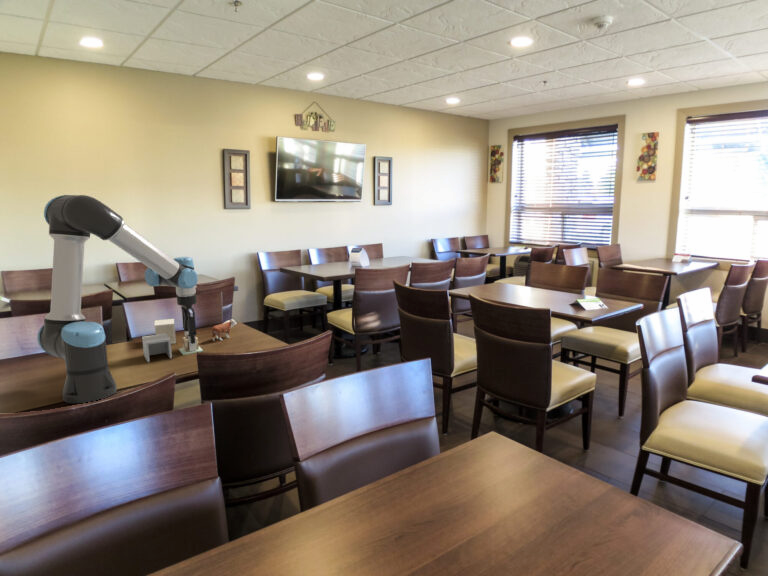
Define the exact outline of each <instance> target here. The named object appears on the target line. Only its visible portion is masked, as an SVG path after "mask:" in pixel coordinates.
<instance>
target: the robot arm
mask: <svg viewBox="0 0 768 576" xmlns="http://www.w3.org/2000/svg"><path fill="white" fill-rule="evenodd" d="M43 217H44V220H45V222H46V223H47V225H48V235H49V236H50V237H51V238H52V239H53V255H52V258H53V259H52V272H51V273H52V277H51V293H50V296H51V297H50V309H49V310H50V311H49V313H47V314H46V315H45V316H44V319H43V325H42V326H41V327H40V328H39V330H38V333H37V338H36V339H37V343H38V345H39V347H40V349H41V350H42V351H44V352H45V353H47V354H48V355H49V356H52V357H56V358H58V359H59V358H60V359H61V360H64V362H65V363H64V364H65V370H66V371H65V372H66V378H65V382H64V384H63V390H62V400H63V401H64V402H65V403H68V404H87V403H86V402H88V403H92V402H91V401H94V402H97V401H96V400H98V401H100V400H99V399H101V400H103V399H106V398H109V397H111V396H113V395H115V393H117V391H118V390H117V383H116V380H115V378H114V377H113V375H112V374H111V371H110V369H109V363H108V361H109V360H108V354H107V343H106V333H105V330H104V327H103V325H102V324H100V323H98V322H94V321H86V317H85V315H83V313H82V309H81V308H82V296H83V295H82V294H83V276H84V275H83V274H84V258H85V255H84V254H85V243H86V242H87V241H88V240H89V239H90V238H91V235H93V236H95V237H97V238H99V239H101V240H102V241H109V242H110V243H112V244H113V245H116V247H118V248H119V249H121V250H122V251H124V252H125V253H126V254H128V255H129V256H131V257H132V258H135V260H137V261H139V262H140V263H141V264H143V265H144V266H146V267H147V268H146V269H145V271H144V279H145V282H146V284H147V285H148V286H150V287H159V286H168V287H174V288H175V293H176V294H175V295H176V302H177V305H178V306H181V307H180V308H181V316H182V317H181V318H182V328H183V332H184V337H188V339H189V350H190V351H195V350H197V347H196V337H197V335H198V334H197V325H196V313H195V310H194V308H193V305H195V304H197V302H198V301H197V300H198V299H197V294H196V293H197V291H196V289H197V288H198V286H197V283H198V280H199V277H198V274H197V272H196V270H195V264H194V259H193V258H192V257H190V256H180V257H179V256H178V257H174V258H172V257H171V256H170V255H168V254H167V253H165V252H164V251H163V250H161V249H160V248H159V247H158V246H156V245H155V244H153V243H152V242H151V241H150V240H148V239H147V238H145V237H144V236H143V235H142V234H140V233H139V232H137V231H136V230H134V229H133V228H132V227H131V226H129V225H128V224H127V223H125V222H124V218H123V217H122V216H121V215H120V214H118V213H117V212H115V210H113V209H111V207H109V206H108V205H106V204H105V203H103V202H102V201H100V200H99V199H96V198H94V197H93V196H91V195H85V194H79V195H77V194H63V195H59V196H58V195H57V196H56V197H53V198H51V199H50V200H48V202H47V203H46V204H45V207H44V210H43Z"/></svg>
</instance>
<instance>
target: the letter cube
mask: <svg viewBox="0 0 768 576" xmlns="http://www.w3.org/2000/svg"><path fill="white" fill-rule="evenodd" d="M182 345H183V347H182V348H184V350H185V351H186V352H188V351H190V350H189V339H188V337H185V336H184V337H182ZM196 347H197V350H199V347H200V346H199V338H198V337H197V336H196Z"/></svg>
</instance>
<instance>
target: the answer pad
mask: <svg viewBox="0 0 768 576" xmlns="http://www.w3.org/2000/svg"><path fill="white" fill-rule="evenodd" d="M178 351H179V352H180V353H181V355H182V356H186V355H191V354H196V353H197V352H198V353H203V352H204V350H203V348H202V347H201V346H199V350H195V351H188V352H186V351H185V350H184V347H181V348H178Z"/></svg>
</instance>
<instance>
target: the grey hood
mask: <svg viewBox="0 0 768 576" xmlns="http://www.w3.org/2000/svg"><path fill="white" fill-rule="evenodd" d="M141 337H142V338H141V340H142V350H143V357H144V358H145V360H146V362H147V363H150V362H151V361H150V356H153V355H161V354H166V355H167V357H168V358H169V359H173V355H172V344H171V339H170V338H169V337H168V335H167V334H166V333H165V334H158V335H156V334H152V335H147V336H145V335H144V336H141Z"/></svg>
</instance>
